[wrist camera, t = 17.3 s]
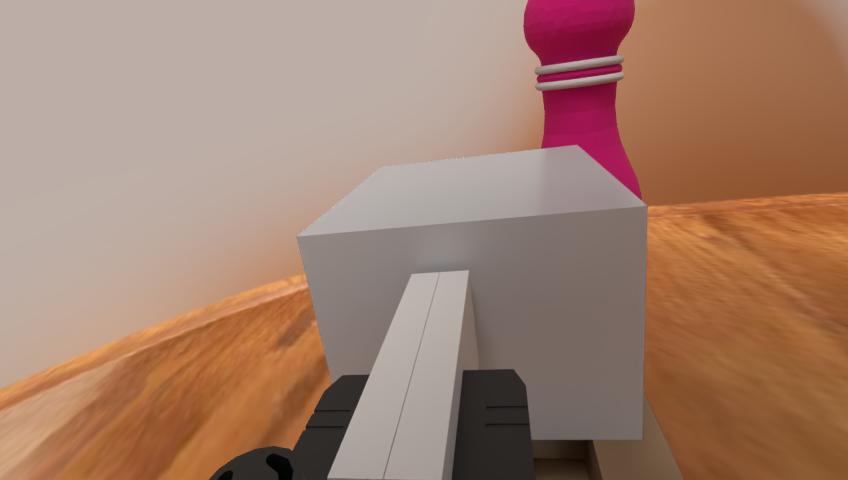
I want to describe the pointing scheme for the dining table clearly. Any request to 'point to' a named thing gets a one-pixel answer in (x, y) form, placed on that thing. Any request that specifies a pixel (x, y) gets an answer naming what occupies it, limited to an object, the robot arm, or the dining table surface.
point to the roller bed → (608, 456)
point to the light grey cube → (500, 276)
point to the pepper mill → (582, 76)
